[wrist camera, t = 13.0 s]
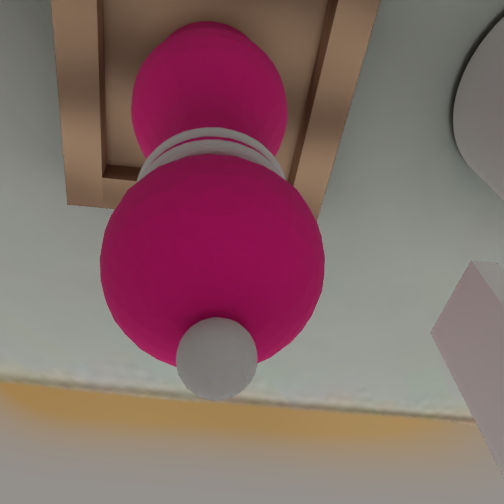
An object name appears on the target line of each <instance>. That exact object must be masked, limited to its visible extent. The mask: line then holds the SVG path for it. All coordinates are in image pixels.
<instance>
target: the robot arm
mask: <svg viewBox="0 0 504 504" xmlns="http://www.w3.org/2000/svg"><path fill="white" fill-rule="evenodd" d="M430 333H431V335H432V337H433V339H434V341H435V342H436V344H437V346H438V348H439V350H440V352H441V354H442V356H443V358H444V360H445V362H446V364H447V366H448V368H449V370H450V372H451V374H452V376H453V378H454V380H455V382H456V384H457V386H458V388H459V390H460V392H461V394H462V396H463V398H464V400H465V402H466V404H467V406H468V408H469V410H470V412H471V414H472V416H473V418H474V420H475V422H476V424H477V426H478V427H479V430H480V432H481V434H482V436H483V438H484V440H485V442H486V444H487V446H488V448H489V450H490V452H491V454H492V455H493V458H494V460H495V462H496V463H497V465H498V467H499V469H500V471H501V473H502V475H503V477H504V271H503V269H502V268H501V267H500V266H499V264H498V263H493V262H482V261H471V262H470V264H469V265H468V267H467V269H466V271H465V272H464V274H463V276H462V278H461V279H460V281H459V283H458V285H457V286H456V288H455V290H454V292H453V294H452V295H451V297H450V299H449V301H448V302H447V304H446V306H445V308H444V309H443V311H442V313H441V315H440V316H439V318H438V320H437V322H436V323H435V325H434V327H433V329H432V331H431V332H430Z"/></svg>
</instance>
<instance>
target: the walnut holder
mask: <svg viewBox="0 0 504 504" xmlns="http://www.w3.org/2000/svg"><path fill="white" fill-rule="evenodd" d="M380 1H381V0H51V10H52V22H53V34H54V46H55V58H56V71H57V83H58V95H59V107H60V119H61V132H62V144H63V156H64V168H65V180H66V193H67V205H78V206H89V207H99V208H110V209H116V207H117V206H118V204H119V203H120V201H121V200H122V198H123V196H124V195H125V193H126V192H127V190H128V189H129V188H131V187H132V186H133V185H134V184H136V183H137V179H138V175H139V173H140V171H141V168H142V166H143V164H144V163H145V161H146V158H145V156H144V154H143V152H142V150H141V149H140V146H139V144H138V141H137V138H136V136H135V132H134V128H133V124H132V117H131V104H132V94H133V87H134V83H135V79H136V76H137V74H138V72H139V70H140V67H141V65H142V64H143V62H144V61H145V59H146V58H147V57H148V55H149V54H150V53H151V52H152V51H153V50H154V49H155V48H156V47H157V46H158V45H159V44H161V43H162V42H163V41H165V39H166V38H167V37H168V36H169V35H171V34H172V33H173V32H175V31H176V30H177V29H179V28H181V27H183V26H185V25H188V24H191V23H194V22H200V21H214V22H219V23H223V24H227V25H229V26H232V27H234V28H236V29H237V30H239V31H241V32H242V33H243V34H245V35H246V36H247V37H248V38H249V39H250V40H251V41H252V42H253V43H255V44H256V45H257V46H258V47H259V48H260V49H262V50H263V51H264V52H265V53H266V54H267V56H268V57H269V58H270V59H271V61H272V62H273V63H274V65H275V67H276V69H277V71H278V72H279V74H280V77H281V80H282V82H283V85H284V90H285V95H286V101H287V113H288V118H287V125H286V131H285V134H284V137H283V140H282V143H281V145H280V148H279V150H278V152H277V154H276V156H275V158H276V160H277V161H278V163H279V164H280V166H281V168H282V171H283V173H284V175H285V179H286V181H287V182H289V183H290V184H291V185H292V186H293V187H295V188H296V189H297V190H298V192H299V193H300V195H301V196H302V197H303V199H304V200H305V202H306V203H307V205H308V206H309V208H310V210H311V212H312V214H313V216H314V218H315V220H316V222H317V219H318V215H319V212H320V208H321V205H322V201H323V198H324V194H325V191H326V187H327V184H328V181H329V177H330V174H331V170H332V167H333V163H334V160H335V156H336V153H337V149H338V146H339V143H340V139H341V136H342V132H343V129H344V125H345V122H346V118H347V115H348V111H349V108H350V105H351V101H352V98H353V94H354V91H355V87H356V84H357V80H358V77H359V73H360V70H361V66H362V63H363V60H364V56H365V53H366V49H367V46H368V42H369V39H370V35H371V32H372V28H373V25H374V22H375V18H376V15H377V11H378V8H379V4H380Z"/></svg>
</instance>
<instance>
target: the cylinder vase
mask: <svg viewBox="0 0 504 504" xmlns="http://www.w3.org/2000/svg"><path fill="white" fill-rule="evenodd" d="M453 129H454V136H455V140H456V144H457V147H458V149H459V151H460V153H461V155H462V157H463V159H464V160H465V162H466V163H467V165H468V166H469V167H470V168H471V169H472V170H473V171H474V172H475V173H476V174H477V175H478V176H479V177H480V178H481V179H482V180H483V181H484V182H485V183H486V184H487V185H488V186H489V187H490V188H491V189H492V190H493V191H494V192H495V193H496V194H497V195H498V196H499V197H500V198H501V199H502V200H503V201H504V17H503V18H502V19H501V20H500V21H499V22H498V23H497V24H496V25H495V26H494V27H493V28H492V29H491V31H490V32H489V33H488V34H487V36H486V37H485V38H484V39H483V41H482V42H481V44H480V45H479V46H478V48H477V49H476V51H475V53H474V54H473V56H472V58H471V59H470V61H469V63H468V65H467V67H466V69H465V71H464V73H463V76H462V78H461V81H460V84H459V87H458V90H457V94H456V98H455V103H454V111H453Z"/></svg>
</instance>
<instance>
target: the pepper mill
mask: <svg viewBox="0 0 504 504" xmlns="http://www.w3.org/2000/svg"><path fill="white" fill-rule="evenodd" d="M131 117H132V124H133V128H134V132H135V136H136V138H137V141H138V144H139V146H140V149H141V150H142V152H143V154H144V156H145V158H146V161H145V163H144V164H143V166H142V168H141V171H140V173H139V175H138V179H137V183H136V184H134V185H133V186H132V187H131V188H129V189H128V190H127V192H126V193H125V195H124V196H123V198H122V200H121V201H120V203H119V204H118V206H117V207H116V209H115V211H114V212H113V214H112V215H111V217H110V220H109V222H108V225H107V227H106V230H105V233H104V238H103V243H102V249H101V255H100V272H101V283H102V287H103V292H104V296H105V299H106V302H107V305H108V307H109V309H110V311H111V314H112V316H113V318H114V320H115V322H116V323H117V324H118V325H119V327H120V328H121V329H122V330H123V332H124V333H125V334H126V335H127V336H128V337H129V338H130V339H131V340H132V341H133V342H134V343H135V344H136V345H137V346H138V347H139V348H140V349H142V350H143V351H145V352H146V353H148V354H150V355H151V356H153V357H155V358H156V359H158V360H160V361H163V362H165V363H168V364H170V365H173V366H176V367H177V370H178V375H179V376H180V378H181V379H182V381H183V383H184V384H185V386H186V387H187V389H188V390H190V391H191V392H193V393H194V394H196V395H197V396H199V397H201V398H205V399H208V400H224V399H228V398H232V397H234V396H235V395H237V394H238V393H240V392H241V391H243V390H244V389H245V388H246V386H247V385H248V384H249V383H250V382H251V380H252V378H253V377H254V374H255V371H256V367H257V363H259V362H261V361H264V360H266V359H268V358H270V357H272V356H273V355H274V354H276V353H277V352H278V351H280V350H281V349H282V348H284V347H285V346H287V345H288V344H289V343H291V341H292V340H293V339H294V338H295V337H296V336H297V335H298V334H299V333H300V332H301V331H302V329H303V328H304V326H305V325H306V323H307V322H308V320H309V319H310V317H311V316H312V314H313V311H314V309H315V307H316V304H317V302H318V299H319V297H320V294H321V292H322V286H323V279H324V261H325V257H324V250H323V244H322V237H321V234H320V231H319V228H318V224H317V222H316V220H315V218H314V216H313V214H312V212H311V210H310V208H309V206H308V205H307V203H306V202H305V200H304V199H303V197H302V196H301V195H300V193H299V192H298V190H297V189H296V188H295V187H293V186H292V185H291V184H290V183H289V182H287V181H286V179H285V175H284V173H283V171H282V168H281V166H280V164H279V163H278V161H277V160H276V158H275V156H276V154H277V152H278V150H279V148H280V145H281V143H282V140H283V137H284V134H285V131H286V125H287V118H288V113H287V101H286V95H285V90H284V85H283V82H282V80H281V77H280V74H279V72H278V71H277V69H276V67H275V65H274V63H273V62H272V61H271V59H270V58H269V57H268V56H267V54H266V53H265V52H264V51H263V50H262V49H260V48H259V47H258V46H257V45H256V44H255V43H253V42H252V41H251V40H250V39H249V38H248V37H247V36H246V35H245V34H243V33H242V32H241V31H239V30H237V29H236V28H234V27H232V26H229V25H227V24H223V23H219V22H214V21H200V22H194V23H191V24H188V25H185V26H183V27H181V28H179V29H177V30H176V31H175V32H173V33H172V34H171V35H169V36H168V37H167V38H166V39H165V41H163V42H162V43H161V44H159V45H158V46H157V47H156V48H155V49H154V50H153V51H152V52H151V53H150V54H149V55H148V57H147V58H146V59H145V61H144V62H143V64H142V65H141V67H140V70H139V72H138V74H137V76H136V79H135V83H134V87H133V94H132V104H131Z"/></svg>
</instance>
